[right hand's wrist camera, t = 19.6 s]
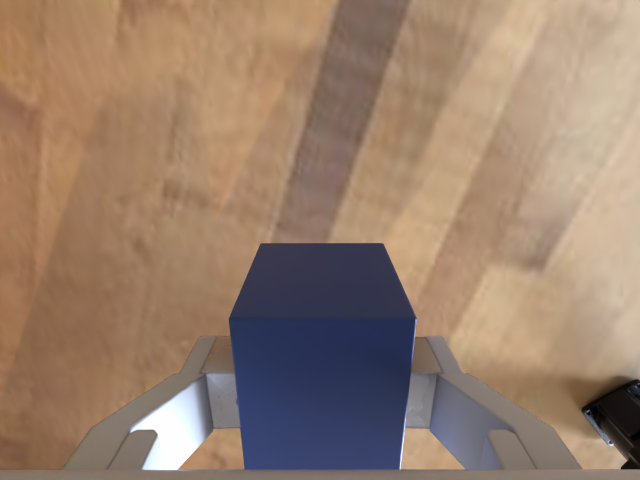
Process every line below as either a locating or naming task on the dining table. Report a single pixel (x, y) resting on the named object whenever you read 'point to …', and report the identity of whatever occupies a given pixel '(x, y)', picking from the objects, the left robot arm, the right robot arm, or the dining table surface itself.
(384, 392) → the brick
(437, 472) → the right robot arm
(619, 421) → the left robot arm
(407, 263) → the dining table surface
